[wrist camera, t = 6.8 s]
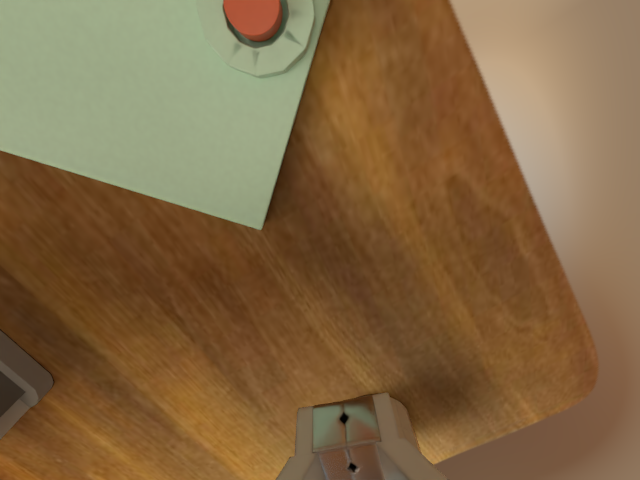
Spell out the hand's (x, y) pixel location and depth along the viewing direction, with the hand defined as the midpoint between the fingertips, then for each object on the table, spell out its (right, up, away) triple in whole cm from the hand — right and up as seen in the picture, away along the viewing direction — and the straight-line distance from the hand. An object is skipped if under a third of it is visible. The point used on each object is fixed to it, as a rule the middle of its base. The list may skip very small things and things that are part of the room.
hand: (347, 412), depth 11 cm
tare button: (-4, +16, +5) cm, 17 cm away
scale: (-10, +15, +8) cm, 20 cm away
